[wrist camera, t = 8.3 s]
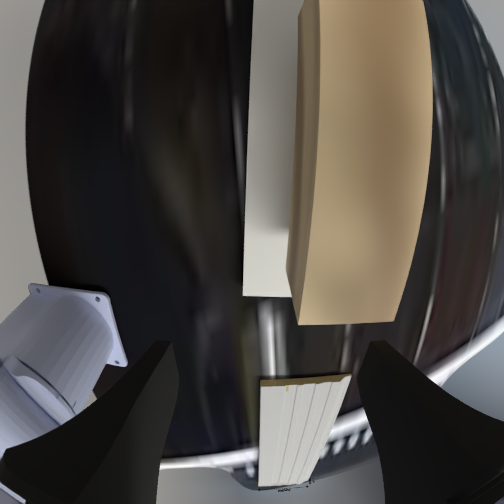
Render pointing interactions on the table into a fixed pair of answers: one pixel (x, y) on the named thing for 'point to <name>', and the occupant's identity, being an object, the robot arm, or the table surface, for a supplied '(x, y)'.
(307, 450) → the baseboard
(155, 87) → the table surface
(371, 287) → the tan block
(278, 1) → the peg rack
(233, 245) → the table surface
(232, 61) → the table surface
